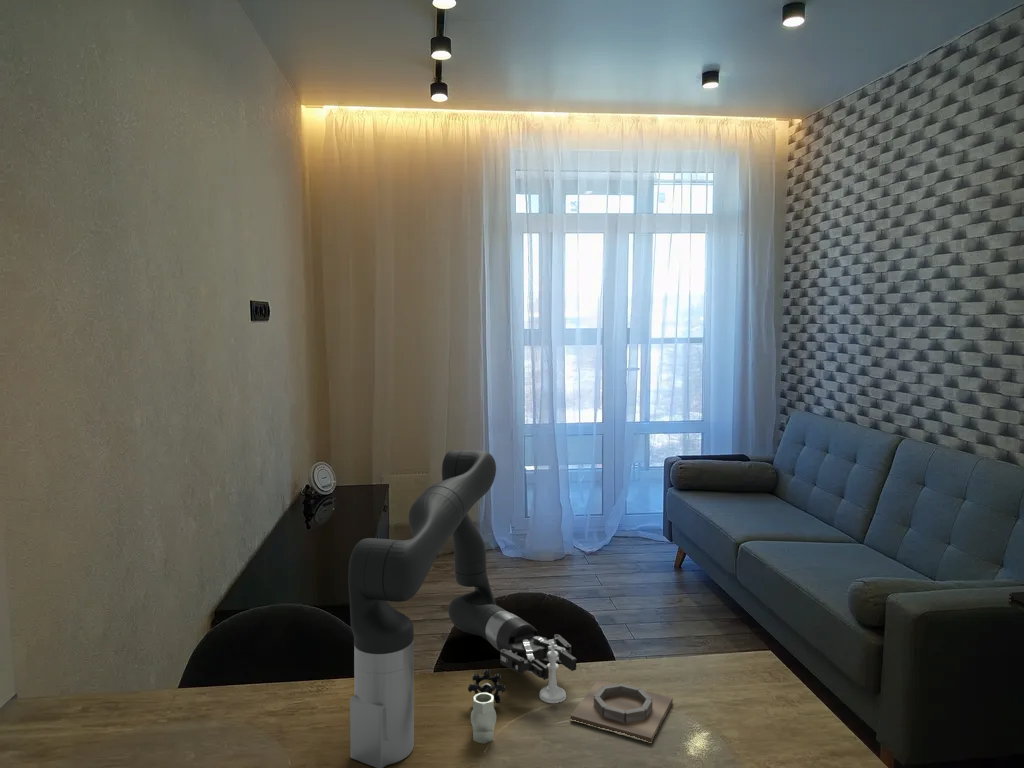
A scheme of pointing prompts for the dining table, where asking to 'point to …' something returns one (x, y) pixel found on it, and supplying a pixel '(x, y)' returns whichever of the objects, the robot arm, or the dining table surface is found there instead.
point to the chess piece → (552, 680)
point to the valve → (484, 706)
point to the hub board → (623, 709)
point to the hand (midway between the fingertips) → (561, 669)
